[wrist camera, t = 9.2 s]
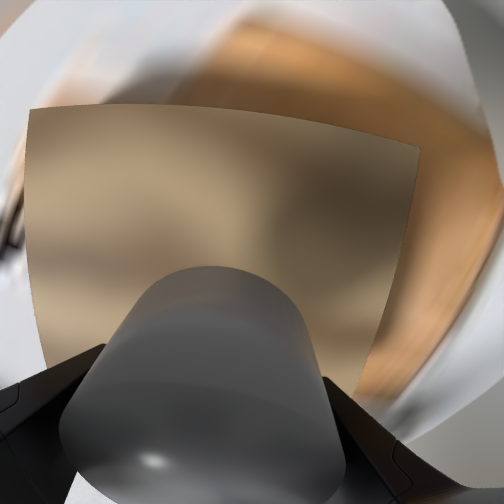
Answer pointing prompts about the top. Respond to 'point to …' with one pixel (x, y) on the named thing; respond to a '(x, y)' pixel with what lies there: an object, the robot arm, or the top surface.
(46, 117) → the lid
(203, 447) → the grey domed cylinder
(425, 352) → the top surface
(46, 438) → the robot arm
